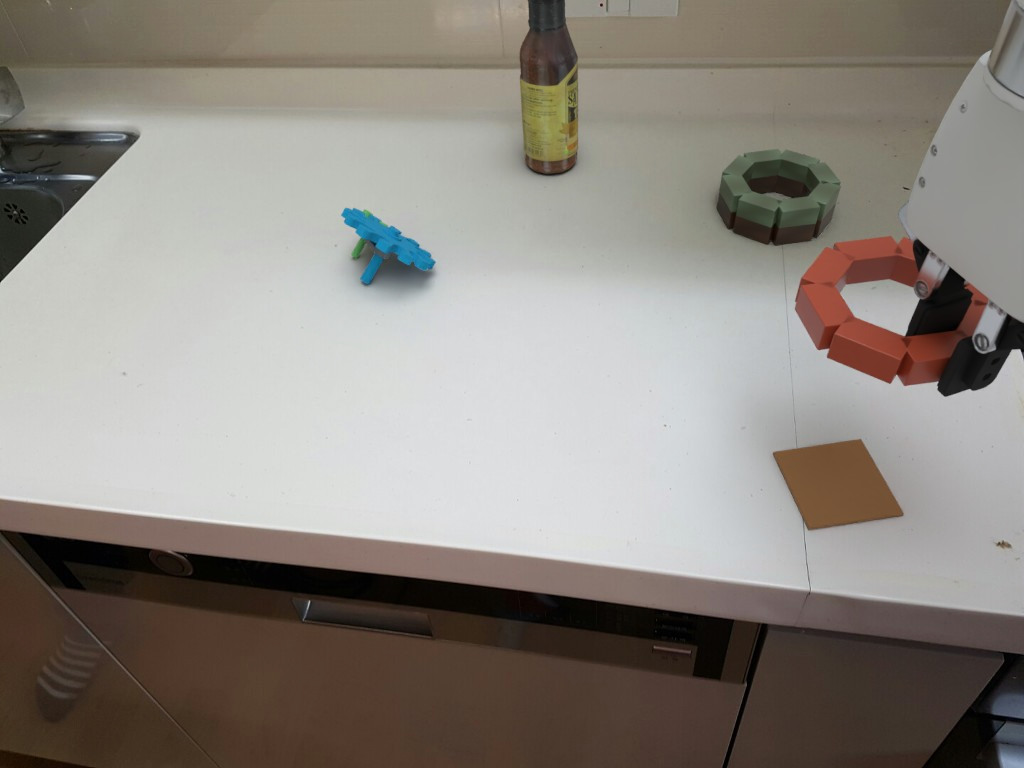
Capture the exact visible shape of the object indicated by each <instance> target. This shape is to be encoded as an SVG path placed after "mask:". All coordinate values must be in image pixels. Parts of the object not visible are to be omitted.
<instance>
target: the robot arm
mask: <svg viewBox="0 0 1024 768" xmlns="http://www.w3.org/2000/svg"><path fill="white" fill-rule="evenodd" d="M897 217H898V220H899V222H900V224H901V226H902V227H903V229H904V232H905V234H906V236H907V237H908V239H910V241H911V242H914V243H913V253H914V257H915V261H916V265H917V269H918V273H919V274H918V276H917V278H916V280H915V282H914V288H913V292H914V294H915V296H916V297H917V298H918V302H917V304H916V307H915V309H914V311H913V313H912V316H911V319H910V321H909V323H908V325H907V330H906V333H905V335H904V336H905V337H909V336H917V335H924V334H932V333H940V332H948V331H955V330H956V328H957V327H958V325H959V323H960V322H962V321H963V319H964V317H965V314H966V312H967V310H968V308H969V306H970V304H971V302H972V300H971V298H972V296H973V293H972V292H971V291H970V290H969V289H968V288H967V289H965V287H967V286H968V285H969V284H971V285H973V286H974V287H975V288H976V289H978V290H979V291H980V292H981V293H982V294H984V295H985V296H986V297H987V298H989V300H988V302H987V304H986V307H985V309H984V311H983V313H982V316H981V318H980V320H979V323H978V325H977V327H976V329H975V332H974V334H973V336H969V337H966V338H963V339H961V340H960V341H959V342H958V343H957V345H956V347H955V349H954V351H953V353H952V355H951V358H950V360H949V362H948V364H947V366H946V368H945V370H944V372H943V374H942V376H941V378H940V380H939V382H937V384H936V387H937V388H936V390H937V391H938V392H939V393H940V394H941V395H942V396H943V397H945V398H947V397H950V396H953V395H956V394H959V393H962V392H965V391H968V390H971V391H972V392H975V391H979V390H982V389H985V388H987V387H989V386H990V385H991V384H992V383H994V381H995V380H996V379H997V377H998V375H999V373H1000V372H1001V370H1002V368H1003V366H1004V365H1005V363H1006V361H1007V359H1008V358H1009V356H1010V354H1011V353H1012V351H1014V350H1016V351H1017V350H1024V0H1010V3H1009V6H1008V8H1007V10H1006V13H1005V15H1004V18H1003V19H1002V23H1001V26H1000V28H999V31H998V33H997V36H996V38H995V41H994V43H993V45H992V49H990V50H987V51H986V52H984V53H982V54H981V56H980V57H978V60H977V61H976V62H975V64H974V65H973V67H972V68H971V70H970V71H969V73H968V74H967V76H966V77H965V79H964V81H963V82H962V84H961V86H960V87H959V89H958V91H956V94H955V96H954V97H953V99H952V101H951V103H950V104H949V107H948V109H947V110H946V112H945V114H944V116H943V118H942V120H941V122H940V124H939V126H938V128H937V130H936V131H935V134H934V136H933V138H932V140H931V142H930V145H929V147H928V149H927V151H926V154H925V156H924V158H923V160H922V163H921V165H920V168H919V171H918V172H917V176H916V177H915V180H914V184H913V186H912V189H911V192H910V196H909V199H908V200H907V201H906V202H905V203H904V204H903V205H902V206H901V207H900V208H899V210H898V212H897Z"/></svg>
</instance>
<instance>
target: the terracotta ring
mask: <svg viewBox="0 0 1024 768" xmlns="http://www.w3.org/2000/svg"><path fill="white" fill-rule="evenodd" d="M913 243H914V242H911V241H910V239H909V237H908V238H907V237H902V238H901V239H900V241H899V242H898V243H897V241H896V240H895V239H894V237H893V236H892V235H887V236H880V237H870V238H865V239H855V240H846V241H838V242H834V244H833V247H832V248H831V247H828V246H825V248H823V250H822V251H821V252H820V254H819V255H818V256H817V257H816V259H815V260H814V261H813V262H812V263H811V265H810V266H809V267H808V268H807V270H806V271H805V272H804V274H803V275H802V276H801V277H800V281H799V284H798V288H797V292H796V295H795V299H794V302H795V306H794V312H795V313H796V314H797V317H798V318H799V320H800V322H801V323H802V325H803V327H804V328H805V331H806V332H807V334H808V336H809V338H810V339H811V341H812V343H813V345H814V347H815V348H816V350H817V351H823V350H828V351H827V355H826V358H827V359H829V360H832V361H833V362H836V363H839V364H841V365H843V366H846V367H848V368H850V369H852V370H855V371H858V372H860V373H861V374H865V375H867V376H869V377H872V378H873V379H876V380H880V381H882V382H884V383H886V384H889V385H891V384H892V383H893V382H894V380H895V378H896V377H897V378H898V379H899V381H900V382H901V383H902V385H903V386H904V387H909V386H915V385H922V384H923V385H925V384H933V383H938V382H939V380H940V378H941V376H942V374H943V372H944V370H945V368H946V366H947V364H948V362H949V360H950V358H951V355H952V353H953V351H954V349H955V347H956V345H957V343H958V342H959V341H960V340H961V339H963V338H966V337H969V336H973V334H974V332H975V329H976V327H977V325H978V323H979V320H980V318H981V316H982V313H983V311H984V309H985V307H986V304H987V302H988V300H989V298H987V297H986V296H985V295H984V294H982V293H981V292H980V291H979V290H978V289H976V288H975V287H974V286H973V285H971V284H969V285H968V286H967V287H965V289H967V288H968V289H969V290H970V291H971V292H972V293H973V296H972V298H971V300H972V302H971V304H970V306H969V308H968V310H967V312H966V314H965V317H964V319H963V321H962V322H960V323H959V325H958V327H957V328H956V330H955V331H948V332H940V333H932V334H924V335H917V336H909V337H905V335H902V334H899V333H897V332H895V331H892V330H890V329H887V328H884V327H881V326H880V325H877V324H873V323H871V322H868V321H866V320H863V319H861V318H858V317H856V316H855V314H854V313H853V312H852V310H851V309H850V307H849V305H848V304H847V302H846V300H845V299H844V297H843V296H842V295H841V292H842V291H843V290H844V288H845V287H846V286H847V285H854V284H855V285H856V284H863V283H869V282H878V281H886V280H891V281H894V282H896V283H899V284H901V285H904V286H907V287H910V288H913V289H914V282H915V280H916V278H917V276H918V274H919V273H918V269H917V265H916V261H915V257H914V253H913Z"/></svg>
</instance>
